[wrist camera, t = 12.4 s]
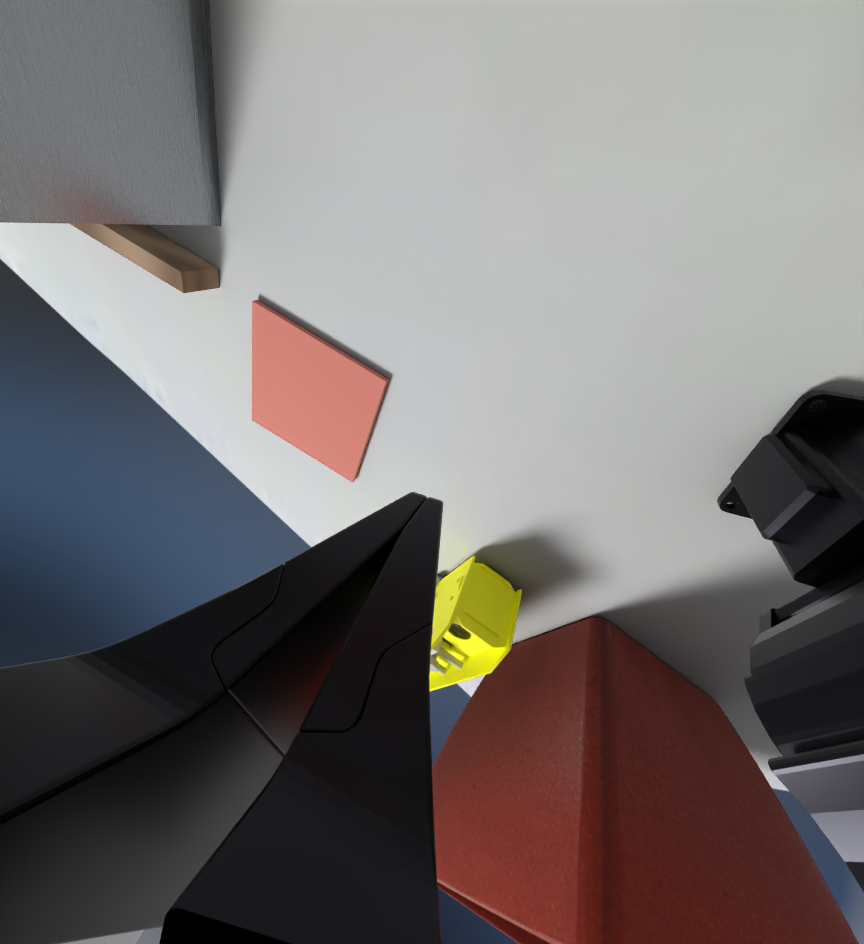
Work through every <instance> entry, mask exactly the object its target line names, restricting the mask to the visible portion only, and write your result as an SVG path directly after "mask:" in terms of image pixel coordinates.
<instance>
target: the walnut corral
mask: <svg viewBox="0 0 864 944" xmlns="http://www.w3.org/2000/svg"><path fill="white" fill-rule="evenodd" d="M69 224H71V225H73V226H74V227H76V228H78V229H79V230H81V231H83V232H84V233H86V234H87V235H89V236H91V237H92V238H94V239H96V240H97V241H99V242H101V243H102V244H104V245H106V246H107V247H109V248H110V249H112V250H114V251H115V252H117V253H119V254H120V255H122V256H124V257H125V258H127V259H129V260H130V261H132V262H133V263H135V264H137V265H138V266H140V267H142V268H143V269H145V270H147V271H148V272H150V273H152V274H153V275H155V276H156V277H158V278H160V279H161V280H163V281H165V282H166V283H168V284H170V285H171V286H173V287H175V288H176V289H178V290H179V291H181V292H183V293H187V292H194V291H201V290H207V289H214V288H219V276H218V268H217V267H215V266H213V265H212V264H210V263H208V262H207V261H205V260H203V259H202V258H200V257H198V256H197V255H195V254H193V253H192V252H190V251H188V250H187V249H185V248H183V247H182V246H180V245H178V244H177V243H175V242H174V241H172V240H170V239H169V238H167V237H165V236H164V235H162V234H160V233H159V232H157V231H155V230H154V229H152V228H150V227H149V226H147V225H145V224H81V223H69Z"/></svg>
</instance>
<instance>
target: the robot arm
mask: <svg viewBox="0 0 864 944" xmlns="http://www.w3.org/2000/svg"><path fill="white" fill-rule="evenodd" d="M817 400H822V401H821V403H820V404H819V405H818V406H816V407H813V408H808V407H809V405H810V404H811V403H812V402H814V401H817ZM730 501H736V502H734V503H732V504H726V503H728V502H730ZM717 502H718V505H719V507H720V509H721V510H722V511H725V512H728V513H732V514H736V515H739V516H743V517H747V518H751V519H753V521H754V522H755V524H756V526H757V528H758V530H759V531H760V533H761V535H762V537H763V538H764V539H768V540H771V541H772V542H773V544H774V545H775V547H776V549H777V551H778V552H779V554H780V556H781V557H782V559H783V561H784V563H785V564H786V566H787V568H788V570H789V571H790V573H791V575H792V576H793V578H794V580H795V581H797V582H800V583H803V584H807V585H810V586H813V587H815V589H814V590H812V591H810V592H808V593H806V594H805V595H803V596H801V597H799V598H797V599H795V600H794V601H792V602H790V603H788V604H786V605H784V606H783V607H781V608H779V609H774V608H773V609H770V610H768V611H767V612H765V613H763V614H761V615H760V634H759V636H758V637H757V638H756V640H755V641H754V643H753V644H752V646H751V647H750V661H751V675H749V676H747V677H746V678H745V685H746V688H747V691H748V693H749V696H750V698H751V701H752V703H753V706H754V709H755V711H756V713H757V715H758V717H759V719H760V720H761V722H762V724H763V726H764V727H765V729H766V731H767V733H768V735H769V736H770V738H771V740H772V741H773V743H774V744H775V745H776V747H777V748H778V750H779V751H780V752H781V754H782V755H783V756H782V757H777V758H772V759H769V761H768V764H769V767H770V769H771V770H772V772H773V773H774V774H775V775H776V776H777V778H778V779H779V780H780V781H781V782H782V783H783V784H784V785H785V786H786V788H787V789H788V790H789V791H790V792H791V793H792V794H793V795H794V796H795V798H796V799H797V800H798V801H799V802H800V803H801V804H802V805H803V806H804V807H805V809H806V810H807V811H808V812H809V813H810V814H811V816H812V817H813V819H814V820H815V821H816V822H817V824H818V825H819V827H820V828H821V829H822V831H823V832H824V833H825V835H826V836H827V838H828V839H829V840H830V842H831V843H832V844H833V846H834V847H835V848H836V850H837V851H838V853H839V854H840V855H841V857H842V858H843V859H844V861H845V862H846V864H847V865H848V867H849V869H850V870H851V872H852V874H853V875H854V877H855V878H856V880H857V882H858V883H859V885H860V887H861V888H862V890H863V891H864V397H858V396H852V395H846V394H839V393H833V392H827V391H812V392H808V393H806V394H804V395H802V396H801V397H800V398H799V399H798V400H797V401H796V402H795V403H794V405H793V406H792V407H791V408H790V410H789V411H788V412H787V413H786V415H785V416H784V417H783V418H782V420H781V421H780V422H779V423H778V424H777V426H776V427H775V428H774V429H773V431H772V432H771V433H770V434H768V435H766V436H764V437H763V438H762V439H761V440H760V442H759V443H758V444H757V445H756V447H755V448H754V449H753V450H752V452H751V453H750V454H749V455H748V457H747V458H746V459H745V460H744V462H743V463H742V464H741V465H740V467H739V468H738V469H737V470H736V472H735V473H734V474H733V475H732V477H731V483H730V484H729V485H728V486H727V488H726V489H725V490H724V491H723V492H722V494H721V495H720V496H719V497H718V500H717ZM442 513H443V502H442V501H441V500H438V499H434V498H431V497H429V498H427V497H426V496H425V495H422V494H418V493H415V492H411V493H409V494H407V495H405V496H403V497H402V498H400V499H398V500H396V501H394V502H393V503H391V504H389V505H387V506H385V507H383V508H382V509H380V510H378V511H376V512H374V513H373V514H371V515H369V516H367V517H365V518H364V519H362V520H360V521H358V522H356V523H355V524H353V525H351V526H349V527H347V528H346V529H344V530H342V531H340V532H338V533H337V534H335V535H333V536H331V537H329V538H328V539H326V540H324V541H322V542H320V543H319V544H317V545H315V546H313V547H311V548H309V549H308V550H306V551H304V552H302V553H300V554H299V555H297V556H295V557H293V558H292V559H290V560H288V561H286V562H285V565H284V564H280V565H279V566H277V567H275V568H273V569H271V570H270V571H268V572H266V573H264V574H262V575H260V576H258V577H257V578H255V579H253V580H251V581H249V582H247V583H245V584H243V585H241V586H239V587H237V588H235V589H233V590H231V591H229V592H227V593H225V594H223V595H221V596H219V597H217V598H214V599H212V600H210V601H208V602H206V603H204V604H202V605H199V606H197V607H195V608H193V609H191V610H188V611H186V612H184V613H182V614H180V615H178V616H175V617H173V618H171V619H169V620H167V621H164V622H163V623H160V624H158V625H156V626H153V627H151V628H149V629H147V630H145V631H142V632H140V633H138V634H136V635H134V636H131V637H129V638H127V639H124V640H122V641H119V642H117V643H114V644H111V645H108V646H106V647H103V648H99V649H96V650H93V651H90V652H86V653H82V654H78V655H73V656H68V657H62V658H57V659H51V660H45V661H39V662H33V663H27V664H21V665H15V666H9V667H3V668H0V944H135V943H136V941H137V940H138V938H139V937H140V935H141V934H142V932H143V930H147V929H153V928H159V927H163V929H162V933H161V939H160V944H441V933H440V932H441V931H440V917H439V904H438V903H439V902H438V887H437V870H436V851H435V830H434V806H433V780H432V756H431V732H430V731H431V729H430V679H429V677H430V657H431V642H432V630H433V628H432V627H433V616H434V605H435V593H436V582H437V570H438V559H439V547H440V536H441V524H442Z"/></svg>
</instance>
